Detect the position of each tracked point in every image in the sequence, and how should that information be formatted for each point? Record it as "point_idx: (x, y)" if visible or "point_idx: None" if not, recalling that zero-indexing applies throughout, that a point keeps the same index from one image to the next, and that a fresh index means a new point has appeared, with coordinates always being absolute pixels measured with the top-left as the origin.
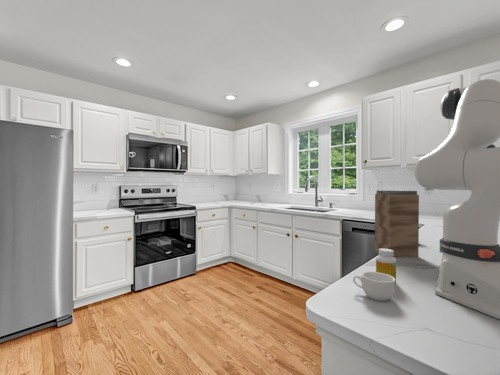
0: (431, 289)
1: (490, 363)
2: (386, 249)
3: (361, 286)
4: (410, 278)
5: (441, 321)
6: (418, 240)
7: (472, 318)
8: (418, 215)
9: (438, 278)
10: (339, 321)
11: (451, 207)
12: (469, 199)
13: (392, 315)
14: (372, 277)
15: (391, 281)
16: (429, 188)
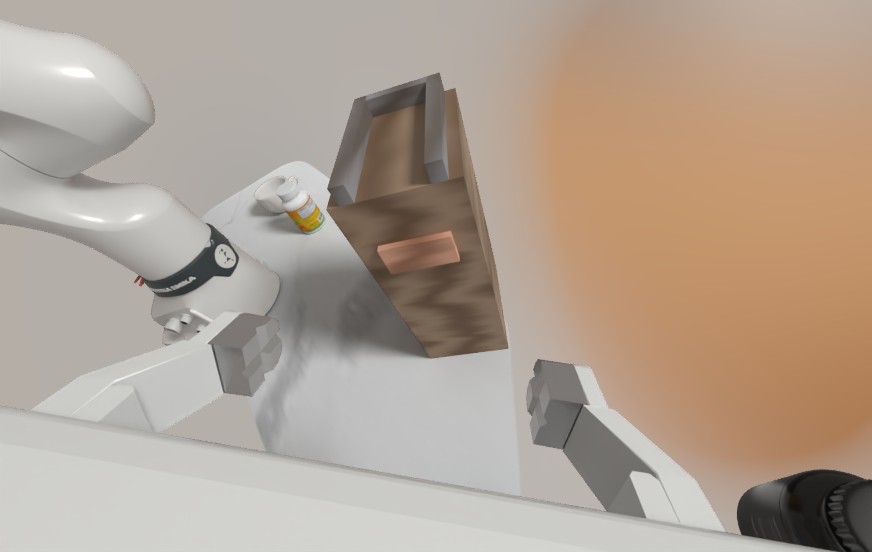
0: (274, 265)
1: None
2: (287, 188)
3: None
4: (312, 259)
5: (230, 236)
6: (413, 333)
7: None
8: (375, 279)
9: (256, 260)
10: (267, 175)
11: (140, 183)
12: (95, 179)
13: (255, 207)
14: None
15: (254, 194)
16: (535, 412)
